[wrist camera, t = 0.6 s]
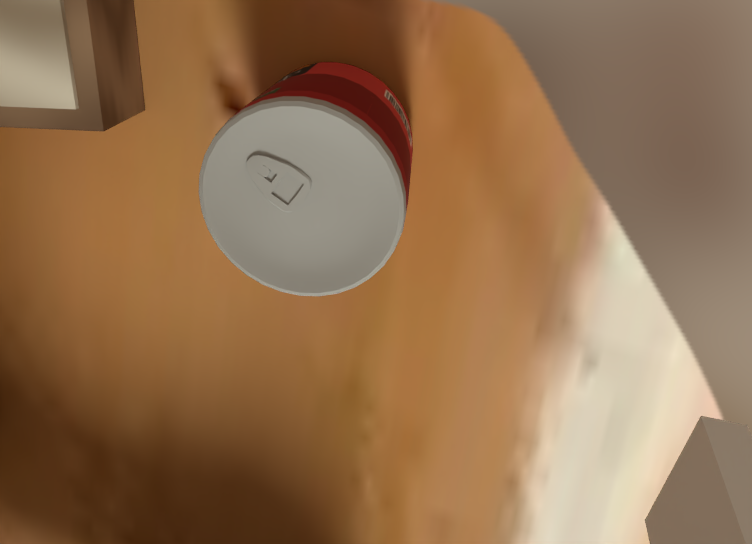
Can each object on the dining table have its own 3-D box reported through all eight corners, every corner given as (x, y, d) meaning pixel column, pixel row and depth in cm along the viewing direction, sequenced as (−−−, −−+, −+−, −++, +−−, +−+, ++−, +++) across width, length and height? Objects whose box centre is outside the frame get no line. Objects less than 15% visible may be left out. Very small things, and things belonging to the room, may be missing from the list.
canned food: (289, 33, 34) (230, 63, 24) (439, 98, 35) (441, 153, 25) (241, 173, 37) (171, 251, 27) (380, 230, 38) (361, 327, 28)
